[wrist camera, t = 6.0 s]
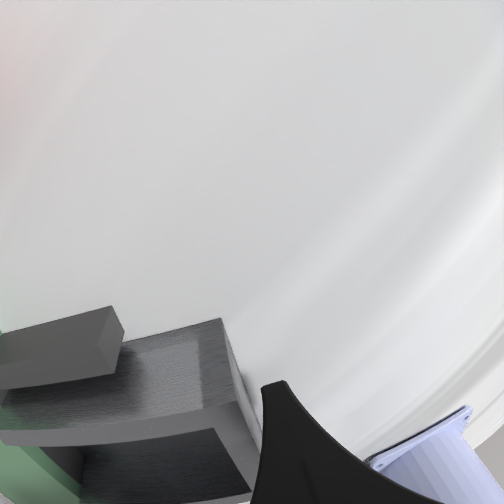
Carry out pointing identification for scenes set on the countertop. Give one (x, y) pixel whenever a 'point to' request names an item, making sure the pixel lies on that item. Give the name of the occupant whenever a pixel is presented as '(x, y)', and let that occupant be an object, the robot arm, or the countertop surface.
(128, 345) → the chute
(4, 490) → the green pronged block
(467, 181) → the countertop surface
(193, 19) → the countertop surface
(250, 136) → the countertop surface
